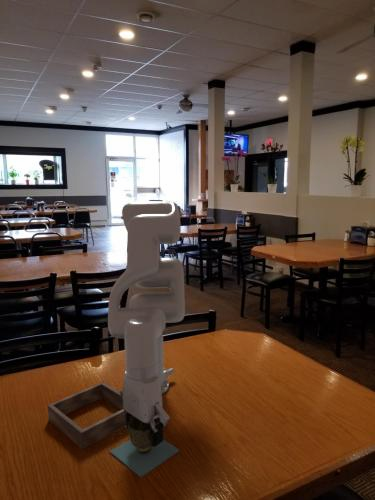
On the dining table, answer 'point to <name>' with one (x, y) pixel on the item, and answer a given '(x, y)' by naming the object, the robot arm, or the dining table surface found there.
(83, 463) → the dining table surface
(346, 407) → the dining table surface
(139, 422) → the dark rounded piece
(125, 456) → the light blue square plate
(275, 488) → the dining table surface
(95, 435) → the grey square frame
